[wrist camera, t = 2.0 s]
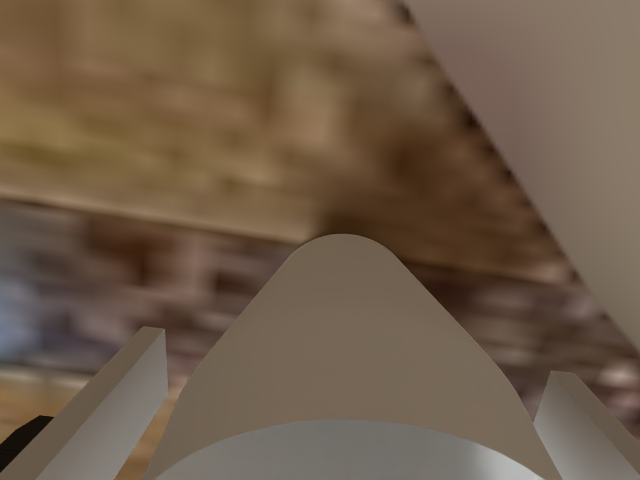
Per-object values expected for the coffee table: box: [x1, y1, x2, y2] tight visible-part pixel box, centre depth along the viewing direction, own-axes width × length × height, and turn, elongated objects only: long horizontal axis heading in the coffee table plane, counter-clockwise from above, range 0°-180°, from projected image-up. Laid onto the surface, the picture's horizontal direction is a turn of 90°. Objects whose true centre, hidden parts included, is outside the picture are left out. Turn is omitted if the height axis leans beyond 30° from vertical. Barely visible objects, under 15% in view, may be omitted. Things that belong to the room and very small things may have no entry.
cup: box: [141, 234, 563, 480], centre depth 12 cm, size 9×9×12 cm
